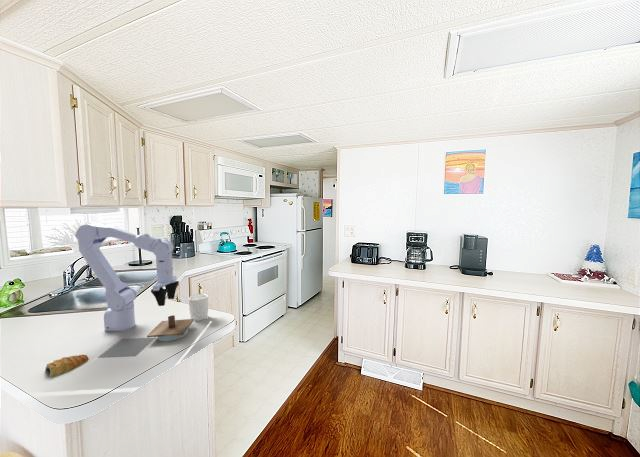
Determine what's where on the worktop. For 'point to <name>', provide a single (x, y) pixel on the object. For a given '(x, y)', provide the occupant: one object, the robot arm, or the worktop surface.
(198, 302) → the white cup
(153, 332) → the lid
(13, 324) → the worktop surface
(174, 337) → the bowl
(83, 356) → the pastry
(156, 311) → the worktop surface
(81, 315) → the worktop surface
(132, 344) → the mat
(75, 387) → the worktop surface
